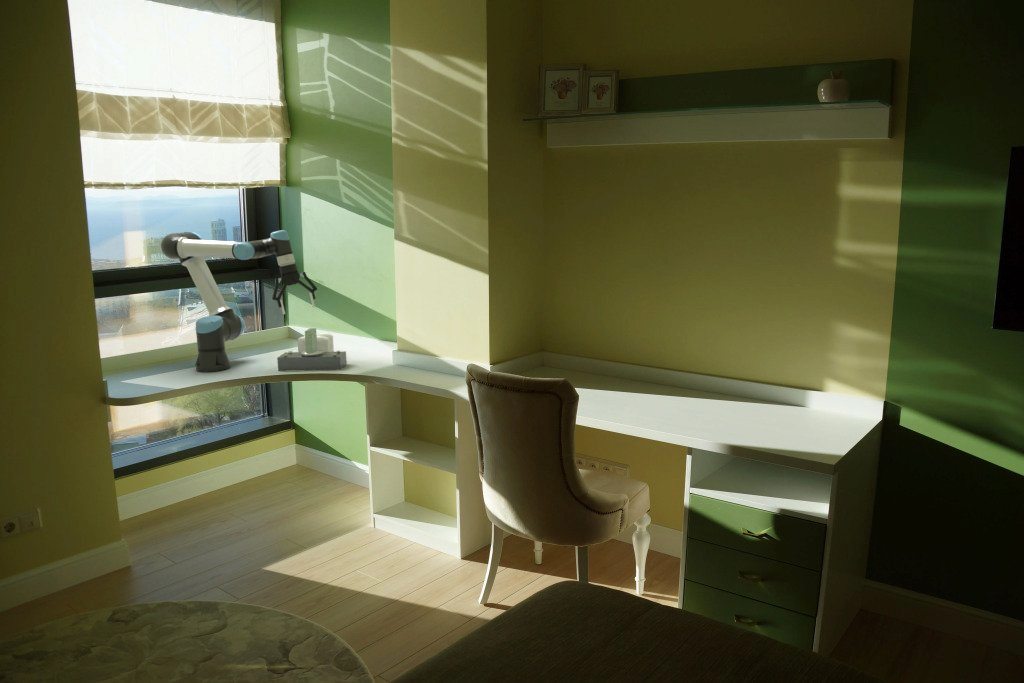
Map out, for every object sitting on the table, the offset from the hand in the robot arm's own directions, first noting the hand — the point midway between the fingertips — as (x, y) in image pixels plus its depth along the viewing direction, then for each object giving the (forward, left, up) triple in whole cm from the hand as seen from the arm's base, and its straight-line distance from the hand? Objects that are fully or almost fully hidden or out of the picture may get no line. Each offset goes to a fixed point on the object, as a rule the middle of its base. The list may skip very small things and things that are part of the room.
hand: (299, 310), depth 377 cm
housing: (+6, -6, -25) cm, 27 cm away
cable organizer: (+3, +13, -25) cm, 29 cm away
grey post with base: (+6, -6, -25) cm, 27 cm away
